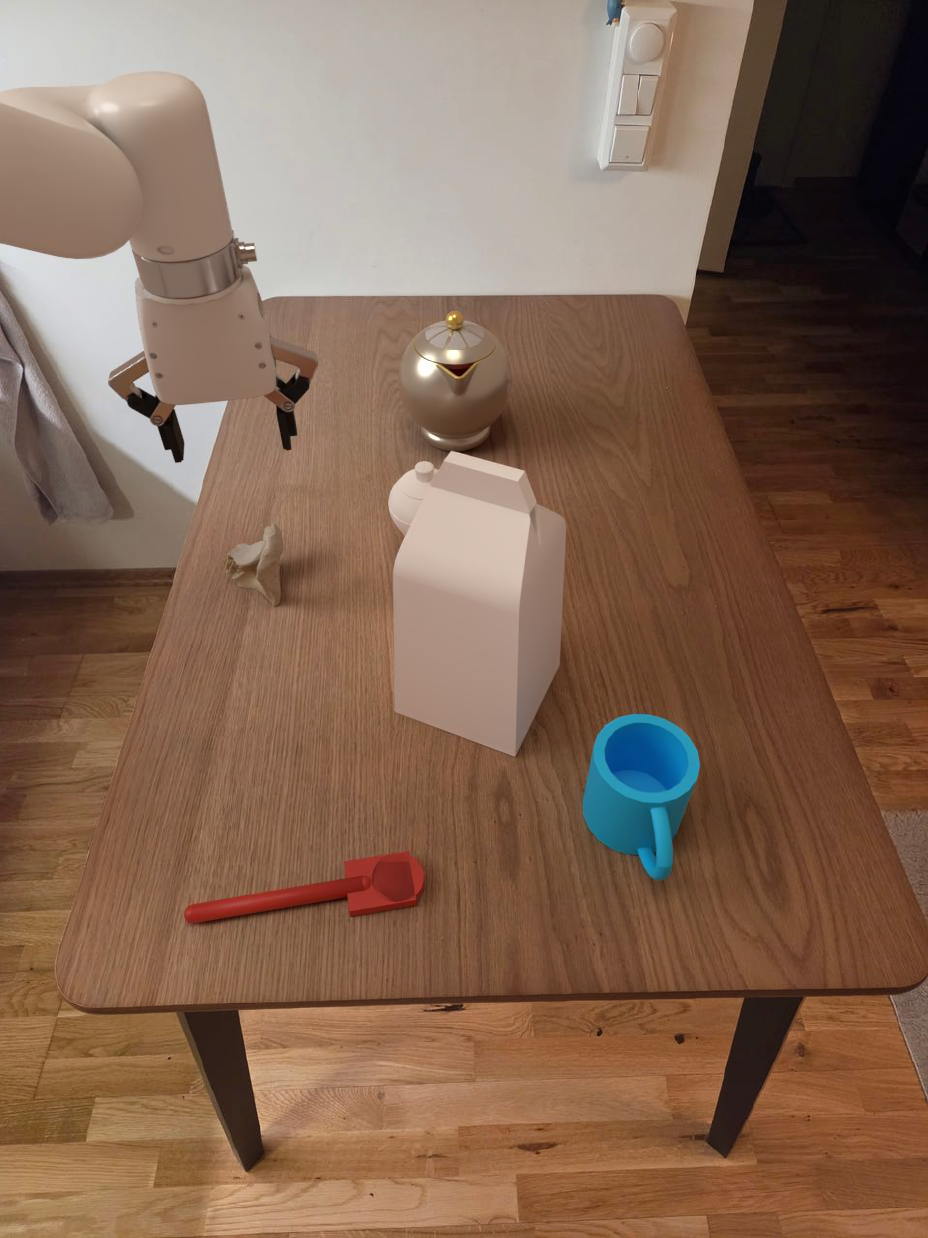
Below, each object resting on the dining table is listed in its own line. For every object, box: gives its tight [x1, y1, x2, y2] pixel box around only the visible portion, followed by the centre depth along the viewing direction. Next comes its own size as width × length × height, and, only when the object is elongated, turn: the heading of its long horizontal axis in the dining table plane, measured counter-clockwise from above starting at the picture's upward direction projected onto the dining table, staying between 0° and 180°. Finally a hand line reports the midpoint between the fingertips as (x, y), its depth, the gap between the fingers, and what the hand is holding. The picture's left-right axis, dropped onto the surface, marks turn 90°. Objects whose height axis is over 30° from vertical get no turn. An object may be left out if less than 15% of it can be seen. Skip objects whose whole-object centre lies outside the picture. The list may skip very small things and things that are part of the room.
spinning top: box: [387, 460, 439, 537], centre depth 89 cm, size 8×8×12 cm
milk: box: [392, 451, 567, 758], centre depth 72 cm, size 12×12×26 cm
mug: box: [582, 713, 701, 882], centre depth 68 cm, size 12×8×8 cm
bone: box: [223, 523, 284, 607], centre depth 88 cm, size 9×6×10 cm
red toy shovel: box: [183, 850, 426, 924], centre depth 67 cm, size 18×4×1 cm, turn 100°
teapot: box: [397, 310, 513, 452], centre depth 104 cm, size 18×14×16 cm
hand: (234, 447), depth 78 cm, fingers open, 9 cm apart
